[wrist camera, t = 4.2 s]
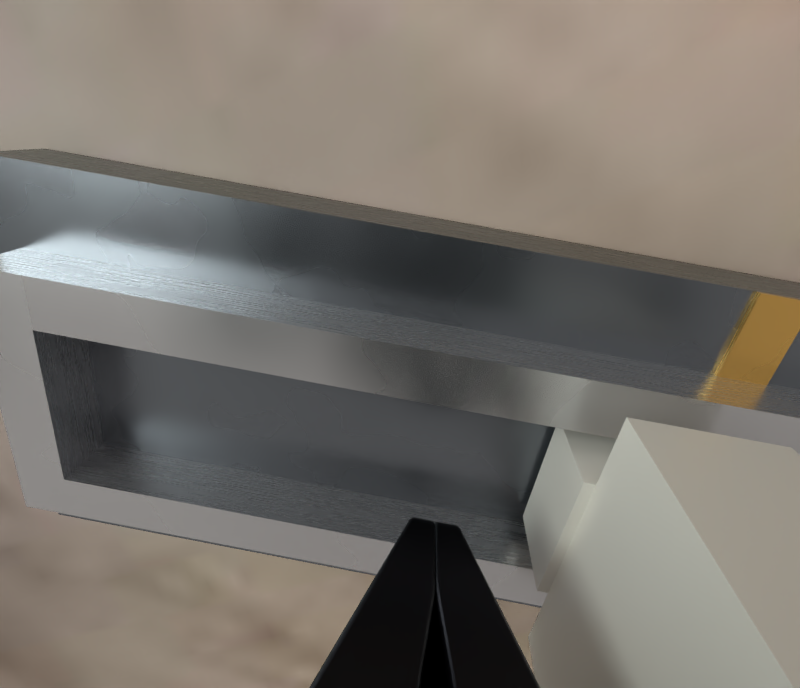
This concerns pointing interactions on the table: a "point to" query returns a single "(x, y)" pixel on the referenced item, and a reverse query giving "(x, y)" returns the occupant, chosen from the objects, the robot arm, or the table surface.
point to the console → (343, 361)
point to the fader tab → (665, 560)
